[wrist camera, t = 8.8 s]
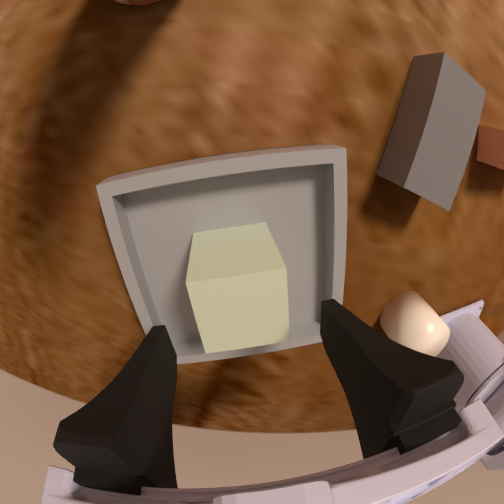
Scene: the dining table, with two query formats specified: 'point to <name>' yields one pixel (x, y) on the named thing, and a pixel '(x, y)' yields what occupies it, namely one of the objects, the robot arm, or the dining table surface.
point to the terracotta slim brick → (491, 146)
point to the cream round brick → (414, 324)
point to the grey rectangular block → (433, 129)
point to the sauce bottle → (136, 2)
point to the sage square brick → (238, 288)
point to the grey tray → (226, 216)
